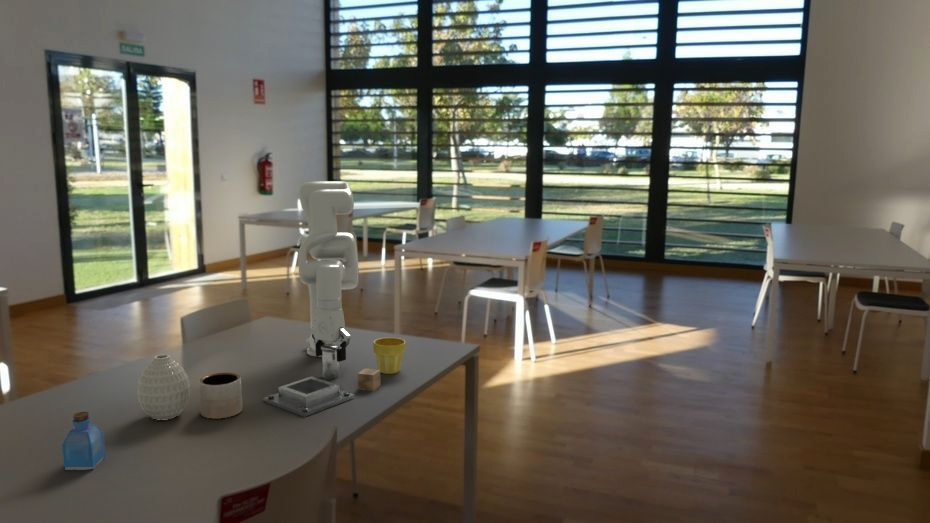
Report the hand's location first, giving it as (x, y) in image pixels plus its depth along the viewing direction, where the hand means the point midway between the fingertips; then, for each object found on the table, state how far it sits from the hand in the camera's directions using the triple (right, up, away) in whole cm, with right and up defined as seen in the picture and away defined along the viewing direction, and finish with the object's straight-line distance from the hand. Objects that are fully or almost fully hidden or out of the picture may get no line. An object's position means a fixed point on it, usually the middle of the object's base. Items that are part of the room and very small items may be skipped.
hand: (330, 358), depth 215 cm
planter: (-24, -11, -27) cm, 38 cm away
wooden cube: (+13, -8, -7) cm, 17 cm away
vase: (-38, -12, -30) cm, 50 cm away
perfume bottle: (-45, -16, -58) cm, 75 cm away
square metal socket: (-3, -9, -17) cm, 20 cm away
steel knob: (0, -6, +2) cm, 6 cm away
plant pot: (+17, -5, +8) cm, 20 cm away
